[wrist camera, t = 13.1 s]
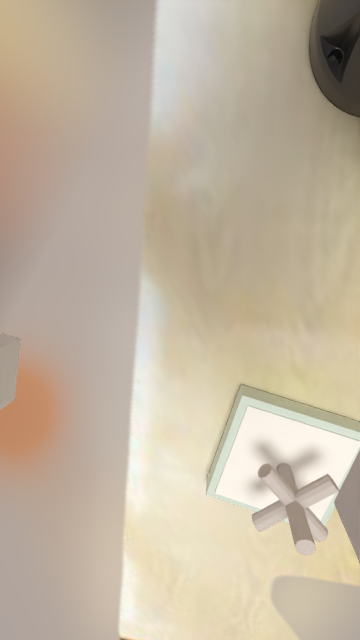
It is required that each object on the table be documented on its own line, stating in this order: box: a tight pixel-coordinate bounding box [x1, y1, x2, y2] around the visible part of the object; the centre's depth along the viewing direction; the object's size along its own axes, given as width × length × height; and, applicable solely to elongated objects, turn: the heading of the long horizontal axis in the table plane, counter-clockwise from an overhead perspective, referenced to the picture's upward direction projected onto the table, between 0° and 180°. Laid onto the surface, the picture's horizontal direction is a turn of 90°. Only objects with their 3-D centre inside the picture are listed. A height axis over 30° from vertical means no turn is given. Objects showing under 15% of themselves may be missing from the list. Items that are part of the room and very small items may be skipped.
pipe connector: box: [252, 463, 339, 555], centre depth 32 cm, size 10×10×10 cm
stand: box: [206, 385, 360, 526], centre depth 38 cm, size 16×16×3 cm
